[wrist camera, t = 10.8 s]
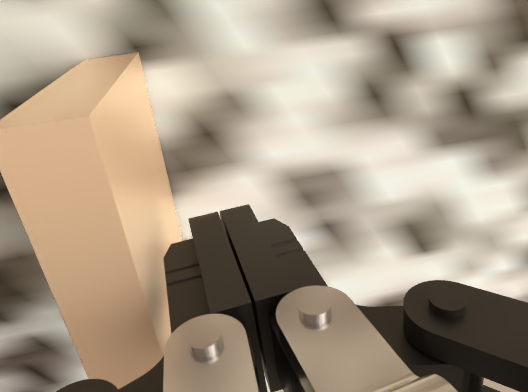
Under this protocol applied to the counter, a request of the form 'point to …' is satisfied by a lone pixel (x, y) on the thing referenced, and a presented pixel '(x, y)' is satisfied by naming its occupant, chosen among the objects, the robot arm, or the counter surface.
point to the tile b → (97, 210)
